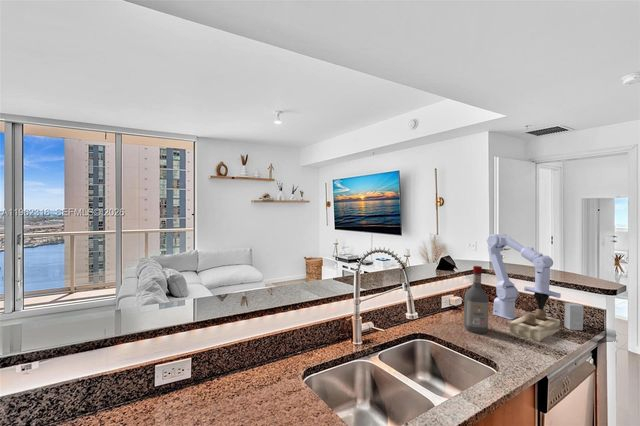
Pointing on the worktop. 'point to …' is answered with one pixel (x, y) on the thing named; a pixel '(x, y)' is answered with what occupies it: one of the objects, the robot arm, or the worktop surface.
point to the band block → (535, 328)
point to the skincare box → (573, 316)
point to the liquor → (476, 305)
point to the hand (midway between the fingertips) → (541, 309)
